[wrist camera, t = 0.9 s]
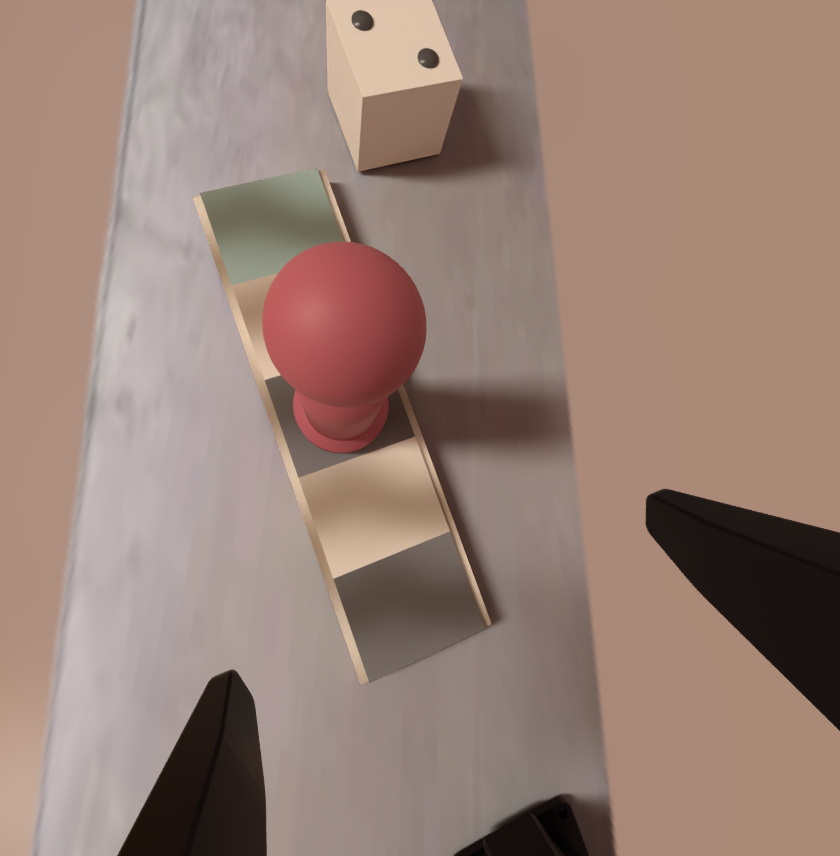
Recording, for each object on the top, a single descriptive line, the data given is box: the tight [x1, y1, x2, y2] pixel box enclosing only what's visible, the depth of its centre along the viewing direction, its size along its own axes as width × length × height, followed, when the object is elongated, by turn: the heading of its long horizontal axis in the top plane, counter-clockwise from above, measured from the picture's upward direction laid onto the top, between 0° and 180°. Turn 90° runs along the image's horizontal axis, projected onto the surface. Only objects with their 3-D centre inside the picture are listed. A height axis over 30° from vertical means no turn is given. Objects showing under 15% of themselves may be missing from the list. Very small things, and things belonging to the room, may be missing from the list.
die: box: [326, 0, 463, 172], centre depth 24 cm, size 5×5×5 cm
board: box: [193, 168, 491, 685], centre depth 23 cm, size 25×7×1 cm, turn 21°
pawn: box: [262, 241, 426, 453], centre depth 16 cm, size 4×4×14 cm
